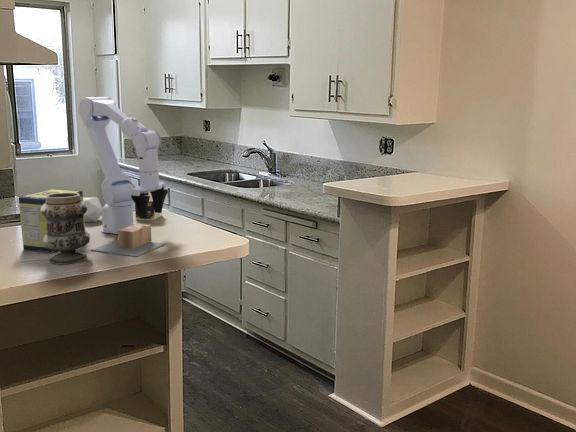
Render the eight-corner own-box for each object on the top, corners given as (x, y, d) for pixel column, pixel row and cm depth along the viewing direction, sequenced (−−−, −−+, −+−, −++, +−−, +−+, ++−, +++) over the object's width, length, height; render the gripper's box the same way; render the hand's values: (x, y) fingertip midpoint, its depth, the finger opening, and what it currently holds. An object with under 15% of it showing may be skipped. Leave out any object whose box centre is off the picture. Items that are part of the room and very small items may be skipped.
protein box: (87, 240, 183) (83, 190, 179) (51, 253, 168) (47, 199, 165) (59, 237, 186) (54, 188, 183) (22, 250, 172) (17, 197, 168)
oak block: (137, 239, 182) (118, 246, 174) (136, 223, 181) (117, 230, 173) (151, 241, 180) (133, 248, 172) (150, 225, 179) (132, 231, 171)
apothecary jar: (84, 250, 171) (79, 189, 167) (97, 260, 161) (92, 195, 157) (40, 257, 165) (34, 193, 161) (50, 268, 155) (44, 200, 151)
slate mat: (90, 250, 171) (90, 249, 171) (121, 239, 184) (121, 238, 184) (136, 257, 165) (136, 255, 165) (165, 244, 178) (165, 243, 178)
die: (88, 226, 202) (104, 202, 203) (66, 213, 202) (82, 188, 204) (95, 229, 210) (111, 206, 212) (74, 216, 211) (90, 193, 212)
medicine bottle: (135, 219, 210) (133, 186, 207) (143, 215, 217) (141, 182, 214) (154, 220, 209) (153, 186, 206) (162, 216, 215) (160, 183, 213)
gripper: (145, 175, 172) (147, 221, 175) (173, 168, 185) (175, 211, 188) (125, 173, 175) (128, 219, 178) (154, 167, 188) (156, 209, 191)
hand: (151, 215), depth 183 cm, fingers open, 7 cm apart
